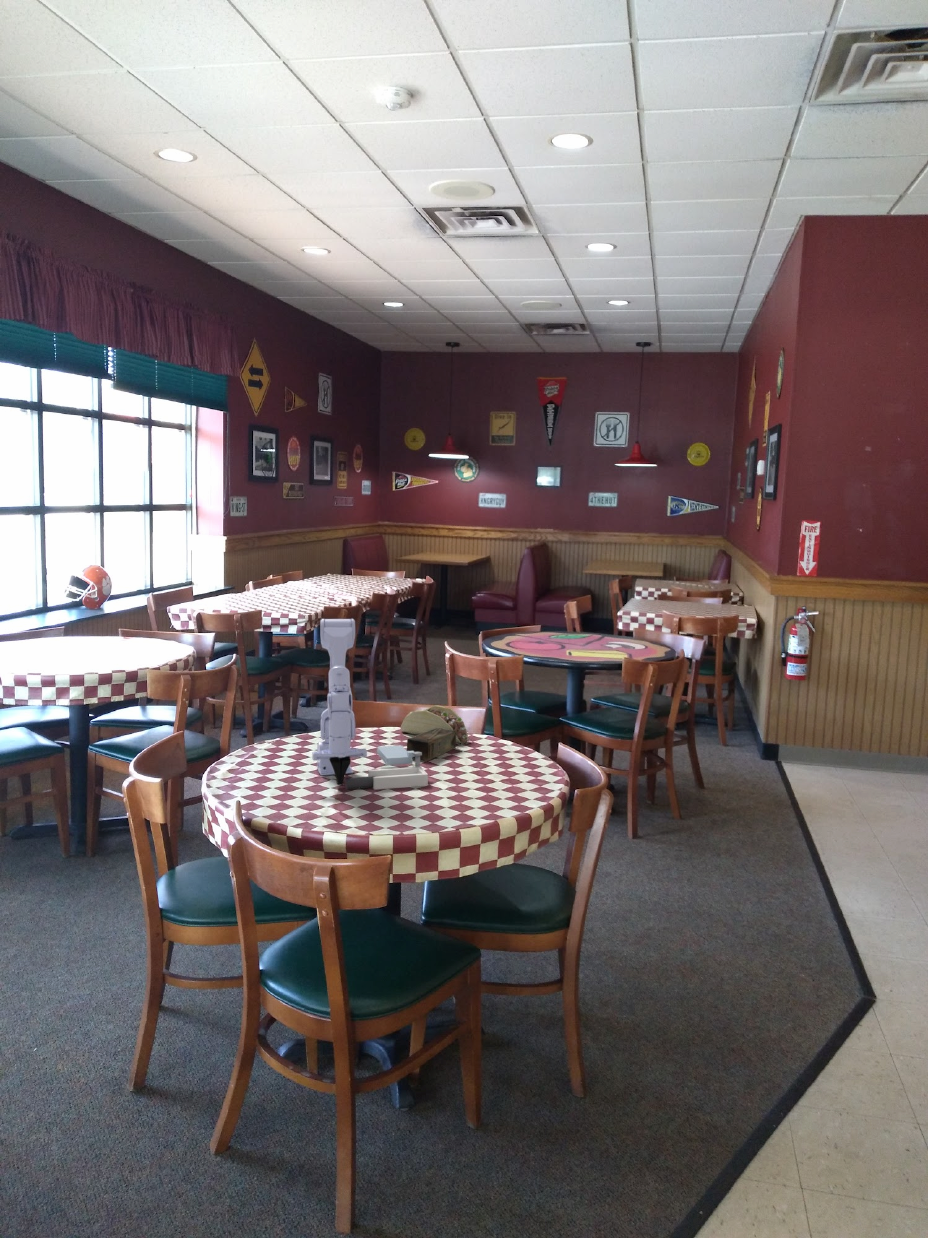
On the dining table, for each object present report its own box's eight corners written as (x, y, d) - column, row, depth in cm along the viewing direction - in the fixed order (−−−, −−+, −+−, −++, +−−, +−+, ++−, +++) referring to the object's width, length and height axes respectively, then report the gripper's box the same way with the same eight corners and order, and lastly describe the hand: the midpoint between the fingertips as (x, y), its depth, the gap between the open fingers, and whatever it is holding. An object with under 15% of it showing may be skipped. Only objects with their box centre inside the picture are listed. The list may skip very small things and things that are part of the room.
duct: (374, 789, 248) (374, 767, 247) (367, 779, 257) (367, 758, 256) (428, 785, 252) (428, 763, 252) (419, 775, 262) (419, 754, 261)
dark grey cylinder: (346, 791, 249) (348, 786, 246) (345, 781, 250) (346, 776, 248) (375, 789, 251) (377, 784, 249) (373, 779, 253) (375, 774, 250)
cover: (377, 753, 271) (377, 742, 271) (409, 751, 274) (409, 740, 274) (388, 767, 256) (388, 756, 256) (422, 765, 259) (422, 753, 259)
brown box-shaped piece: (457, 748, 293) (457, 728, 292) (427, 763, 276) (428, 741, 275) (435, 745, 297) (435, 725, 296) (405, 759, 280) (405, 738, 279)
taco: (412, 729, 318) (412, 700, 317) (475, 741, 302) (476, 711, 301) (394, 734, 310) (394, 704, 309) (458, 747, 294) (458, 716, 293)
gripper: (314, 740, 241) (314, 790, 243) (369, 737, 246) (368, 786, 247) (311, 734, 248) (311, 782, 250) (364, 731, 252) (363, 779, 254)
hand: (339, 784), depth 249 cm, fingers closed
